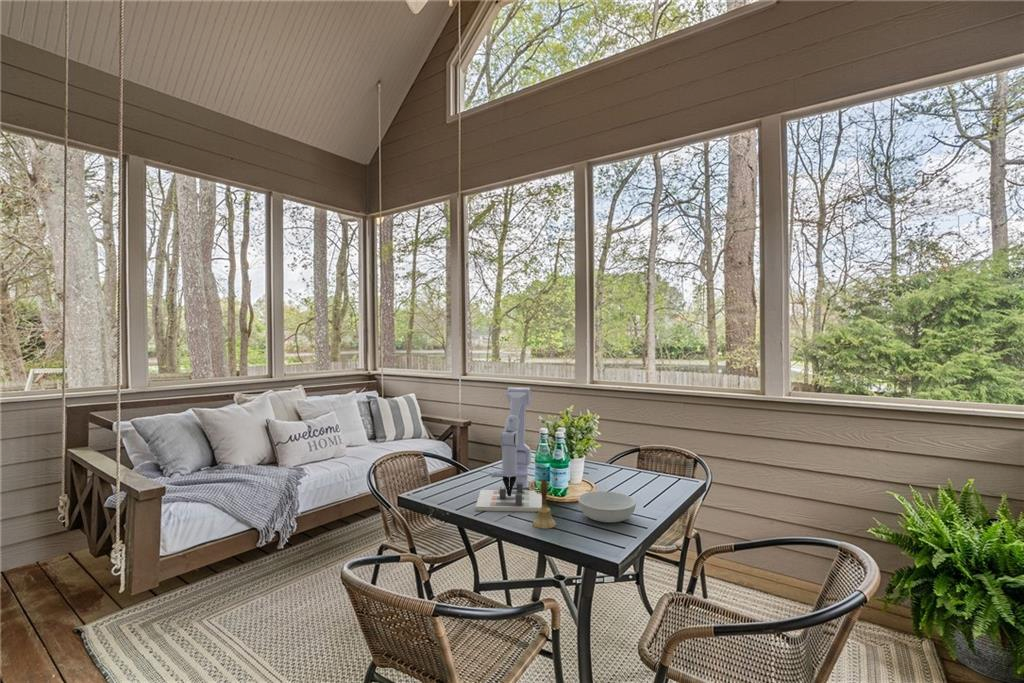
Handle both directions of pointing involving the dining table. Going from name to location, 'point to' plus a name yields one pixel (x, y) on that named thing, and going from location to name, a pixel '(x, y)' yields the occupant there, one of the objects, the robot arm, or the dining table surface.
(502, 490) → the breaker
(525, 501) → the panel
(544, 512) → the hand bell
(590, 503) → the serving bowl
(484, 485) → the dining table surface
